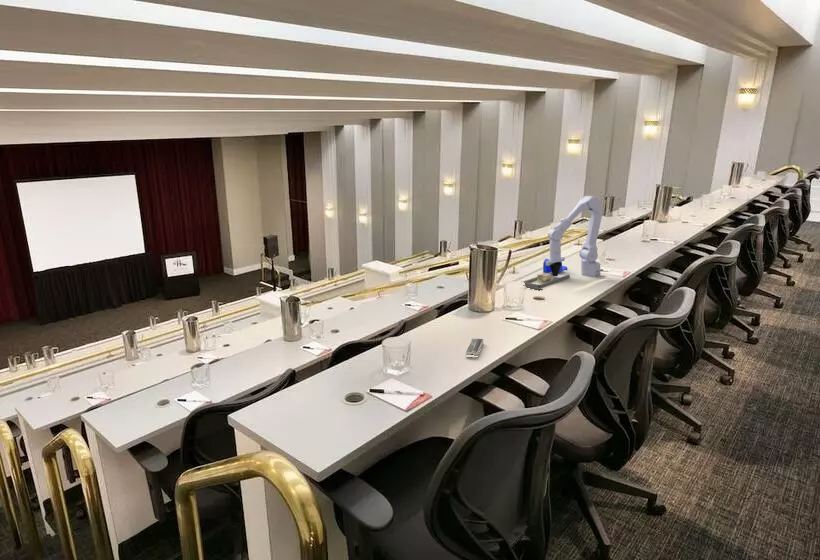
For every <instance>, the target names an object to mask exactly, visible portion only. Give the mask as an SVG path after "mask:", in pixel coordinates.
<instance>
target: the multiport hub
mask: <svg viewBox="0 0 820 560" xmlns="http://www.w3.org/2000/svg"><path fill="white" fill-rule="evenodd" d="M483 343H484V339H483V338H472V339H471V341H470V342H469V345H468V346H467V347H466V351H465V352H464V353H465V355H474V356H478V353H479V351H480V349H481V347H482V348H483V346H484V344H483ZM482 345H483V346H482ZM481 350H482V349H481ZM480 352H481V351H480ZM479 354H480V353H479ZM478 357H479V356H478Z"/></svg>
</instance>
